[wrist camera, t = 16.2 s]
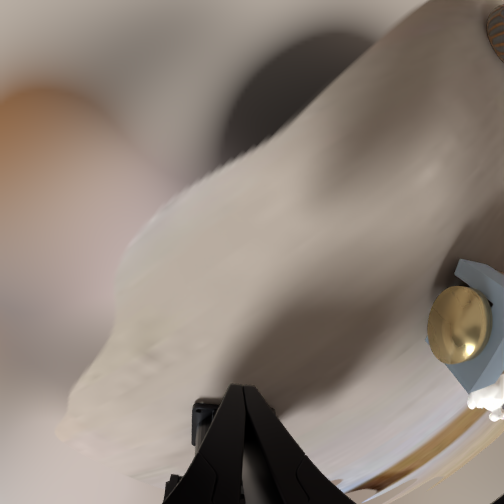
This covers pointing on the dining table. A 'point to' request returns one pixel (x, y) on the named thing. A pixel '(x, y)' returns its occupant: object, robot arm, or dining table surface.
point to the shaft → (459, 324)
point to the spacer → (500, 342)
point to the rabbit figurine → (489, 399)
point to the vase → (497, 30)
